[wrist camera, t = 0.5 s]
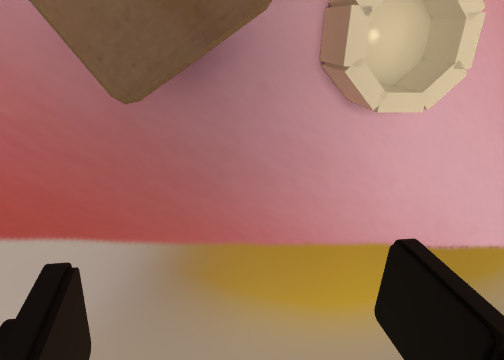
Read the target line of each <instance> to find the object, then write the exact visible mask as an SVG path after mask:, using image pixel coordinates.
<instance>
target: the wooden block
mask: <svg viewBox="0 0 504 360" xmlns="http://www.w3.org/2000/svg"><path fill="white" fill-rule="evenodd" d="M29 1H30V2H31V3H32V4H33V5H34V6H35V8H36V9H37V10H38V11H39V12H40V14H41V15H42V16H43V17H44V18H45V19H46V21H47V22H48V23H49V24H50V25H51V26H52V28H53V29H54V30H55V31H56V32H57V33H58V35H59V36H60V37H61V38H62V39H63V40H64V42H65V43H66V44H67V45H68V46H69V48H70V49H71V50H72V51H73V52H74V53H75V55H76V56H77V57H78V58H79V59H80V60H81V62H82V63H83V64H84V65H85V66H86V67H87V69H88V70H89V71H90V72H91V73H92V74H93V76H94V77H95V78H96V79H97V80H98V82H99V83H100V84H101V85H102V86H103V87H104V89H105V90H106V91H107V92H108V93H109V94H110V96H112V97H113V98H115V99H117V100H119V101H120V102H122V103H124V104H128V103H133V102H137V101H140V100H142V99H143V98H145V97H146V96H147V95H149V94H150V93H152V92H153V91H154V90H156V89H157V88H158V87H160V86H161V85H163V84H164V83H165V82H167V81H168V80H169V79H171V78H172V77H174V76H175V75H176V74H178V73H179V72H181V71H182V70H183V69H185V68H186V67H187V66H189V65H190V64H192V63H193V62H194V61H196V60H197V59H199V58H200V57H201V56H203V55H204V54H205V53H207V52H208V51H210V50H211V49H212V48H214V47H215V46H217V45H218V44H219V43H221V42H222V41H223V40H225V39H226V38H228V37H229V36H230V35H232V34H233V33H234V32H236V31H237V30H239V29H240V28H241V27H243V26H244V25H246V24H247V23H248V22H250V21H251V20H252V19H254V18H255V17H257V16H258V15H259V14H261V13H262V12H264V11H265V10H266V9H267V8H268V6H269V4H270V3H271V1H272V0H29Z"/></svg>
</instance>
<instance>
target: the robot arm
mask: <svg viewBox="0 0 504 360" xmlns="http://www.w3.org/2000/svg"><path fill="white" fill-rule="evenodd" d="M375 317H376V319H377V321H378V322H379V324H380V325H381V327H382V328H383V329H384V331H385V333H386V334H387V336H388V337H389V338H390V340H391V341H392V343H393V344H394V346H395V347H396V349H397V350H398V352H399V353H400V354H401V356H402V357H403V359H404V360H504V316H503V315H502V314H501V313H500V312H499V311H498V310H497V309H495V308H494V307H493V306H492V305H491V304H490V303H488V302H487V301H486V300H485V299H484V298H483V297H482V296H481V295H479V294H478V293H477V292H476V291H475V290H474V289H473V288H471V287H470V286H469V285H468V284H467V283H466V282H465V281H463V280H462V279H461V278H460V277H459V276H458V275H457V274H456V273H454V272H453V271H452V270H451V269H450V268H449V267H448V266H446V265H445V264H444V263H443V262H442V261H441V260H440V259H439V258H437V257H436V256H435V255H434V254H433V253H432V252H431V251H429V250H428V249H427V248H426V247H425V246H424V245H423V244H421V243H420V242H419V241H418V240H416V239H400V240H396V241H395V242H394V244H393V245H391V246H390V249H389V253H388V257H387V261H386V265H385V269H384V273H383V277H382V281H381V285H380V289H379V293H378V297H377V301H376V305H375ZM90 353H91V338H90V333H89V326H88V321H87V315H86V308H85V302H84V296H83V290H82V284H81V278H80V272H79V269H78V268H77V267H76V268H72V266H71V264H70V263H55V264H46V265H45V266H44V267H43V269H42V271H41V273H40V274H39V276H38V278H37V280H36V282H35V284H34V286H33V287H32V289H31V291H30V293H29V295H28V297H27V299H26V300H25V303H24V304H23V306H22V308H21V310H20V312H19V314H18V315H17V317H16V319H8V320H6V321H5V322H3V324H2V325H1V326H0V360H89V358H90Z"/></svg>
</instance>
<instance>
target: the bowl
mask: <svg viewBox="0 0 504 360" xmlns="http://www.w3.org/2000/svg"><path fill="white" fill-rule="evenodd" d="M328 3H329V5H330V6H331V7H329V8H325V16H324V26H323V35H322V44H321V53H320V61H323V62H324V63H323V64H322V65H321V66H322V68H323V69H324V70H325V72H326V73H327V74H328V75H329V77H330V78H331V79H332V81H333V82H334V83H335V84H336V86H337V87H338V88H339V90H340V91H341V92H342V93H343V95H344V96H345V97H346V99H347V100H350V101H352V102H354V103H356V104H359V105H361V106H363V107H366V108H368V109H370V110H373V111H375V112H378V113H380V112H423V109H426V110H428V109H429V108H431V107H432V106H433V105H434V104H435V103H436V102H437V101H438V100H439V99H441V98H442V97H443V96H444V95H445V94H446V93H447V92H448V91H449V90H451V89H452V88H453V87H454V86H455V85H456V84H457V83H458V82H459V81H461V80H462V79H463V78H464V77H465V76H466V75H467V72H466V71H465V69H471V66H472V62H473V59H474V55H475V51H476V48H477V44H478V40H479V36H480V33H481V29H482V25H483V22H484V18H485V14H486V13H482V12H480V11H482V10H483V9H484V8H485V7H486V6H485V4H484V2H483V0H330V1H329V2H328Z"/></svg>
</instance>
